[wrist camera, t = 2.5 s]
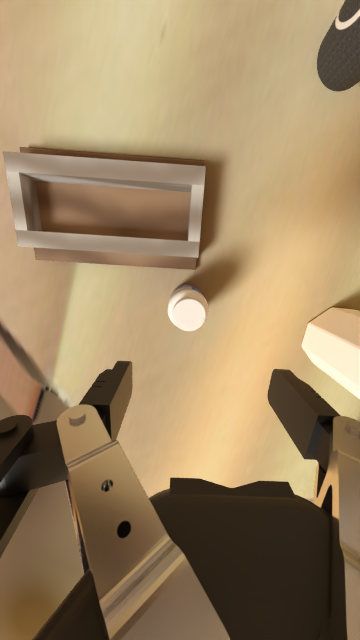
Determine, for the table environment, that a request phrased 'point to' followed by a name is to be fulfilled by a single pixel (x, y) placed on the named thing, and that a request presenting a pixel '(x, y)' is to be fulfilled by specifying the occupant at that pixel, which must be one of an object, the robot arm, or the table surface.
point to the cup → (336, 346)
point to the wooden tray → (107, 207)
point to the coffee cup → (341, 49)
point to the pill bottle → (187, 308)
